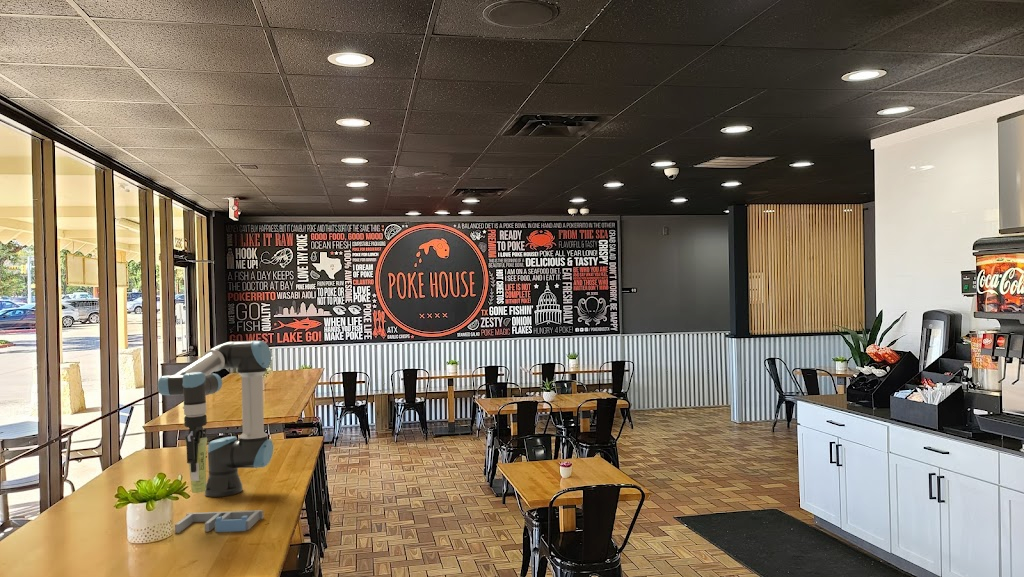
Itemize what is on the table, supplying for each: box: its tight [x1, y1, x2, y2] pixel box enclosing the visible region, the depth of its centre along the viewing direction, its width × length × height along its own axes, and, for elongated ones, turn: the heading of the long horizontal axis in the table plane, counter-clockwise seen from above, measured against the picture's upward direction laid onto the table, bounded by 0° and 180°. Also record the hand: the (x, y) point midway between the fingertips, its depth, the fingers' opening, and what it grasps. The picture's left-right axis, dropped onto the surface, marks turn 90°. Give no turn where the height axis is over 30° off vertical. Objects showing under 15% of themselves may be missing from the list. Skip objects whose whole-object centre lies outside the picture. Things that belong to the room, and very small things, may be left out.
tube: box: [184, 436, 208, 494], centre depth 272 cm, size 6×5×20 cm
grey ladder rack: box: [174, 509, 264, 534], centre depth 273 cm, size 15×28×5 cm, turn 92°
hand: (197, 478), depth 273 cm, fingers closed on tube, 5 cm apart
